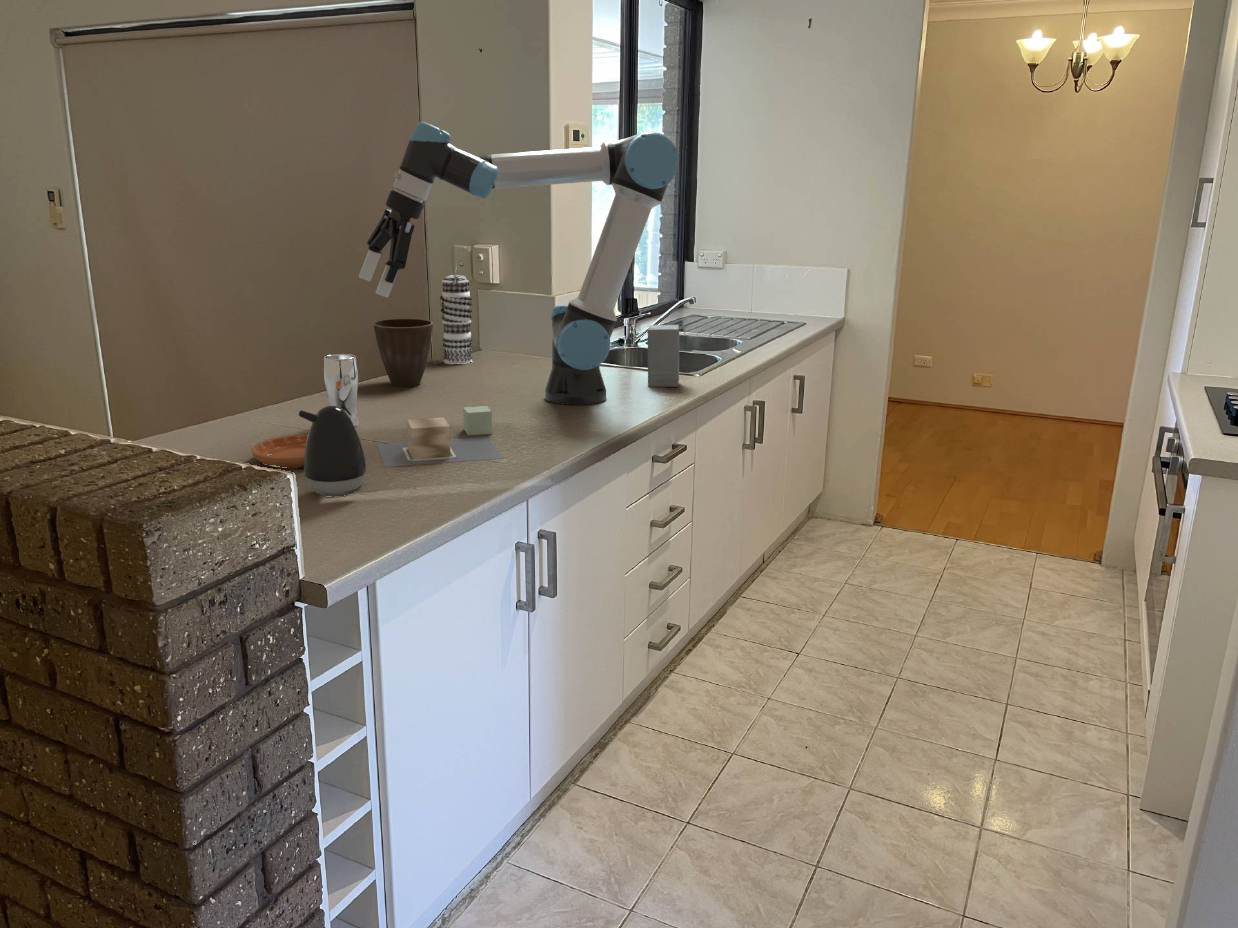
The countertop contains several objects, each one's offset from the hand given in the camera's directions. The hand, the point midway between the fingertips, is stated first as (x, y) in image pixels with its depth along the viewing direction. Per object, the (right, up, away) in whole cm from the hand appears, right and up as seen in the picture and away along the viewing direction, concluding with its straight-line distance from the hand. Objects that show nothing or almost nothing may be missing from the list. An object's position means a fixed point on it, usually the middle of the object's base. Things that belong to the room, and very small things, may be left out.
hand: (372, 287), depth 208 cm
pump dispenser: (+6, -44, -46) cm, 64 cm away
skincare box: (+66, -18, +45) cm, 81 cm away
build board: (+19, -37, -24) cm, 48 cm away
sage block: (+24, -33, -9) cm, 42 cm away
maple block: (+18, -37, -26) cm, 48 cm away
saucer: (-7, -38, -27) cm, 47 cm away
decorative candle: (+7, -9, +71) cm, 72 cm away
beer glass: (-6, -30, -2) cm, 31 cm away
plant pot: (-2, -18, +40) cm, 44 cm away
